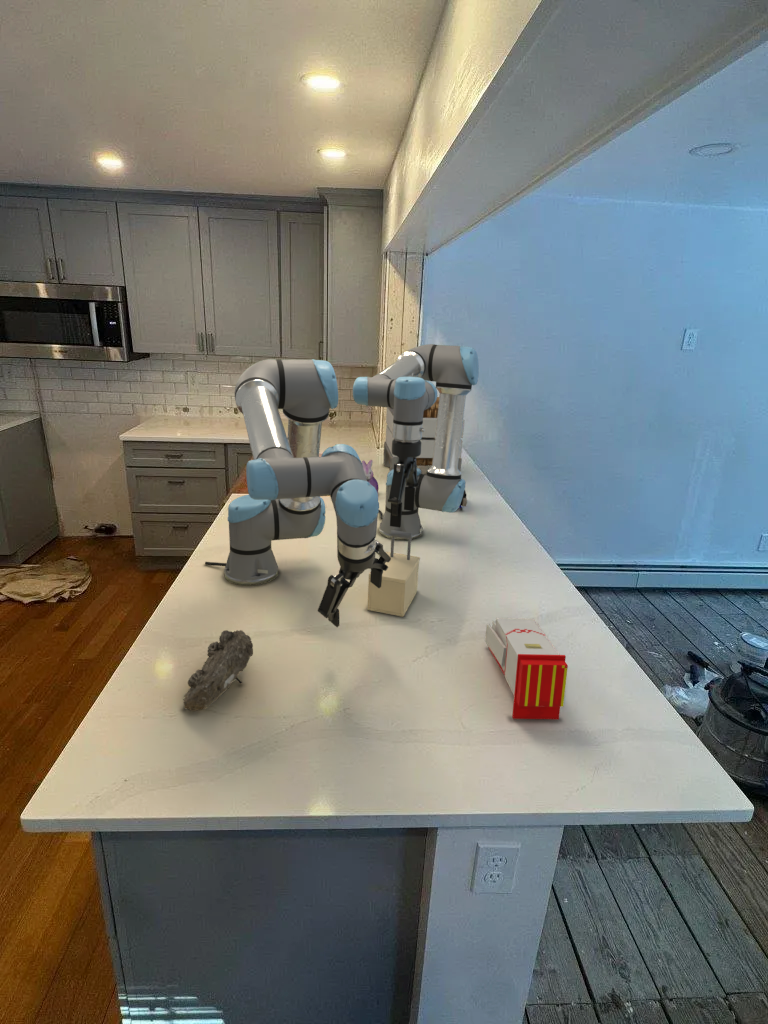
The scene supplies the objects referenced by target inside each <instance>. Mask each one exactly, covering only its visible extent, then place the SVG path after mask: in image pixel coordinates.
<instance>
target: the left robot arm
mask: <svg viewBox="0 0 768 1024" xmlns="http://www.w3.org/2000/svg"><path fill="white" fill-rule="evenodd" d="M338 387H339V386H338V379H337V375H336V371H335V369H334V367H333V365H332V364H331V362H329V361H327V360H322V359H314V358H312V359H276V358H268V359H262V360H260V361H257V362H255V363H253V364H252V365H250V366H249V367H248V368H246V369H245V370H244V371H243V372H242V373H241V374H240V376H239V378H238V380H237V381H236V384H235V387H234V401H235V405H236V407H237V409H238V411H239V412H240V413H241V414H242V415H243V419H244V424H245V428H246V433H247V436H248V437H247V438H248V442H249V446H250V450H251V455H252V459H250V460H248V461H247V463H246V465H245V466H246V467H245V468H246V469H245V471H246V472H245V473H246V475H245V476H246V477H245V478H246V487H247V493H248V494H244V495H242V496H238V497H236V498H235V499H233V500H232V501H231V502H230V503H229V504H228V507H227V522H228V533H229V534H228V536H229V538H228V540H229V553H228V556H227V560H226V562H217V561H215V562H213V561H204V565H205V566H215V567H224V578H225V579H226V580H227V582H229V583H231V584H234V585H236V586H237V585H238V586H246V587H250V586H260V585H264V584H267V583H270V582H272V581H273V580H275V579H276V578H277V577H278V576H279V565H278V562H277V560H276V557H275V555H274V552H273V549H272V541H282V540H284V541H285V540H294V539H296V540H297V539H309V538H312V537H318V536H319V535H321V534H322V532H323V530H324V527H325V524H326V503H325V501H324V499H323V497H330V501H331V502H332V506H333V509H334V513H335V519H336V550H337V551H336V554H337V555H336V556H337V562H338V564H339V566H340V567H339V570H338V574H336V575H335V576H334V575H333V574H330V575H329V576H328V578H327V585H326V587H325V590H324V592H323V595H322V598H321V600H320V602H319V605H318V608H317V612H318V613H319V614H320V615H322V616H323V618H325V619H327V620H328V621H329V622H330V623H331V624H332V625H334V626H335V627H336V628H338V627H340V609H339V607H340V605H341V603H342V601H343V599H344V597H345V596H346V594H347V592H348V590H349V589H351V588H352V587H353V585H355V582H356V580H357V579H358V578H359V577H360V575H362V574H363V573H364V572H365V571H367V570H370V572H371V578H370V582H371V583H373V584H374V585H375V586H376V587H378V588H380V587H381V583H382V574H383V570H384V571H386V570H387V569H388V566H387V565H385V563H386V562H389V561H390V560H391V558H390V556H389V555H388V554H387V553H386V552H387V551H385V549H384V545H383V544H382V543H381V542H380V541H378V540H377V530H378V516H379V513H380V512H379V510H380V501H379V492H378V493H377V491H376V489H375V487H373V486H372V485H371V484H370V483H369V482H367V479H366V476H365V473H364V469H363V465H362V460H361V459H360V456H359V454H358V452H357V451H356V450H355V448H354V447H353V446H351V445H349V444H346V443H336V444H334V445H333V446H329V447H326V449H325V450H324V451H323V452H322V454H321V455H320V450H321V449H320V448H321V439H322V429H323V427H322V426H323V422H324V421H326V420H327V419H328V417H329V416H330V409H331V410H334V409H336V408H337V407H338V405H339V388H338ZM280 410H282V414H283V415H284V417H285V418H287V432H286V431H285V427H284V424H283V420H282V417H281V415H280ZM376 555H377V556H379V558H378V557H377V558H376Z"/></svg>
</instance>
